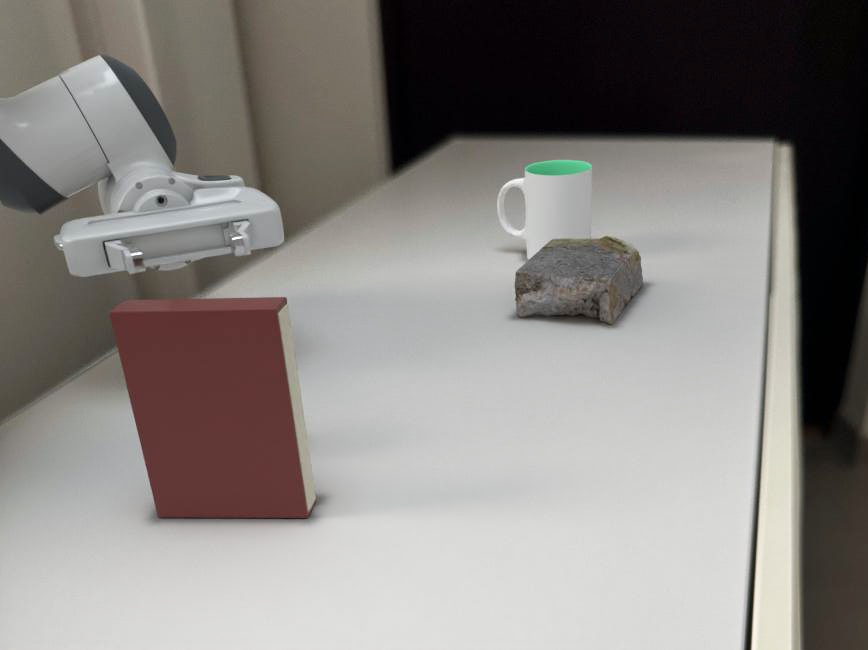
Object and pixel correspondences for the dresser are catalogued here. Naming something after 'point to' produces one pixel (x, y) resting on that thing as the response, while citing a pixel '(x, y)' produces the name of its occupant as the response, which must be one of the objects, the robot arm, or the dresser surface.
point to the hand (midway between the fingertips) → (190, 255)
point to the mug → (552, 203)
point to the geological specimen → (579, 278)
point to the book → (217, 406)
